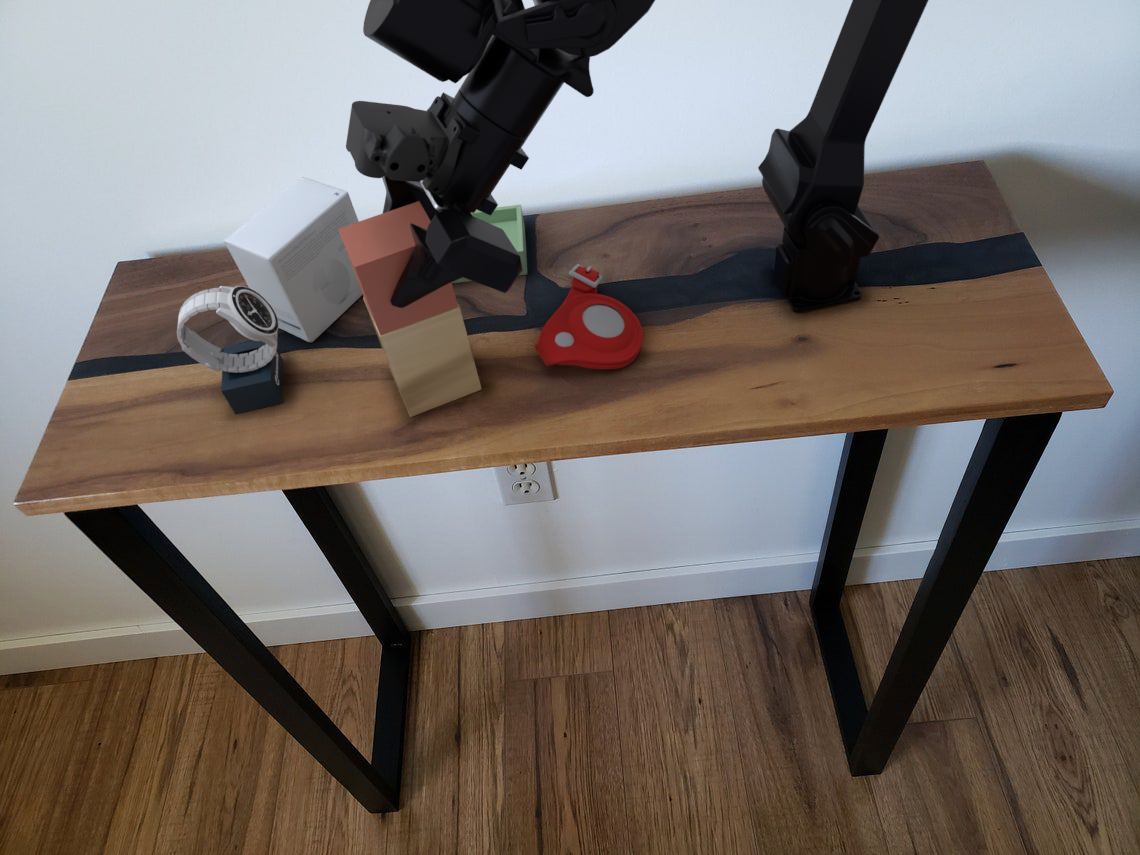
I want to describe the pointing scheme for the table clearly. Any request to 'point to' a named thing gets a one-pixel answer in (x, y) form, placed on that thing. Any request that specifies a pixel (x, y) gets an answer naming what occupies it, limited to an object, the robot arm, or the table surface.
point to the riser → (431, 361)
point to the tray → (507, 230)
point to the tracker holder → (590, 328)
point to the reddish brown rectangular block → (391, 266)
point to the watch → (238, 346)
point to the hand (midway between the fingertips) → (386, 284)
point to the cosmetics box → (300, 257)
